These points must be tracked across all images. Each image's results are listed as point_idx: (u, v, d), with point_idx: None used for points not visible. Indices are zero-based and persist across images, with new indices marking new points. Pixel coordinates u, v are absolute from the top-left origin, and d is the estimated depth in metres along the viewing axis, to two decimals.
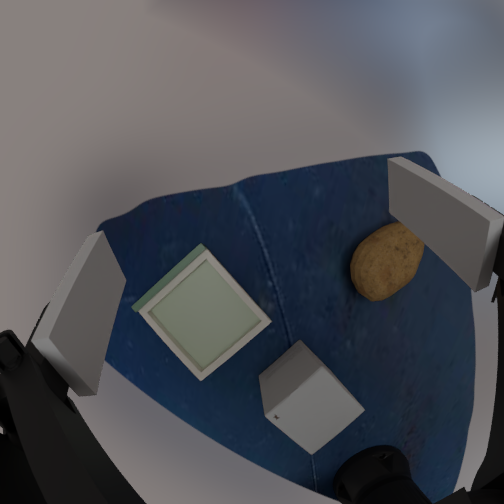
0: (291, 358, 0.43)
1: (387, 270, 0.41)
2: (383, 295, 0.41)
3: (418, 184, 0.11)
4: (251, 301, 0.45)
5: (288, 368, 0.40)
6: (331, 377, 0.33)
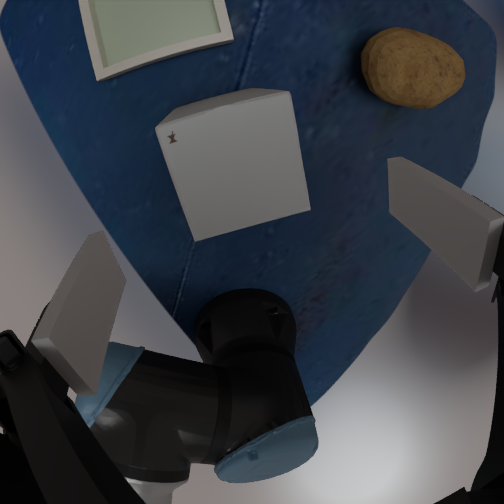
0: (233, 93, 0.26)
1: (415, 68, 0.24)
2: (394, 92, 0.26)
3: (418, 184, 0.11)
4: (222, 3, 0.23)
5: (224, 97, 0.24)
6: (293, 118, 0.19)
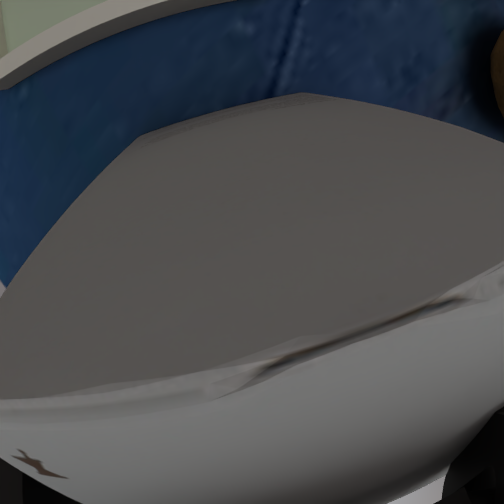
0: (276, 107, 0.10)
1: None
2: None
3: None
4: None
5: (261, 122, 0.08)
6: None
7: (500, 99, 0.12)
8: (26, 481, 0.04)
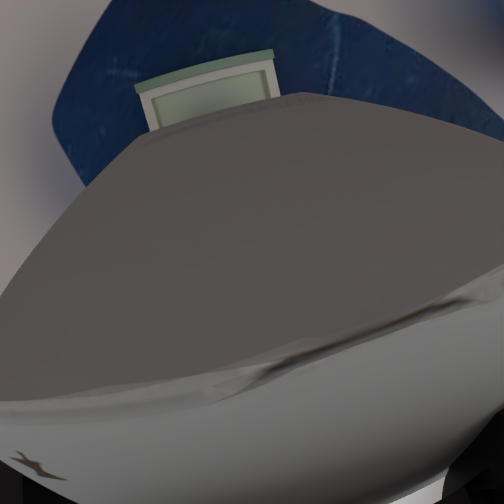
0: (276, 106, 0.10)
1: None
2: None
3: None
4: None
5: (262, 121, 0.08)
6: None
7: None
8: (26, 481, 0.04)
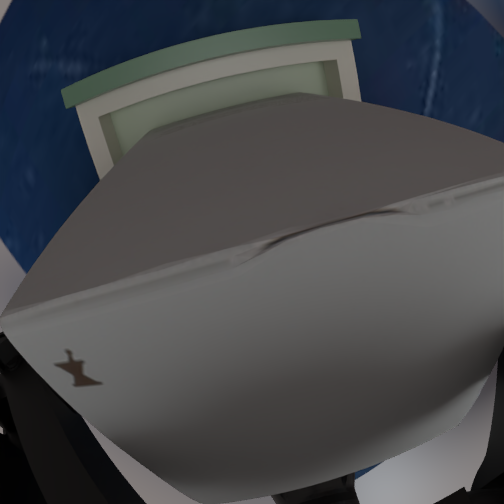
0: (276, 104, 0.11)
1: None
2: None
3: None
4: None
5: (263, 116, 0.09)
6: None
7: None
8: None
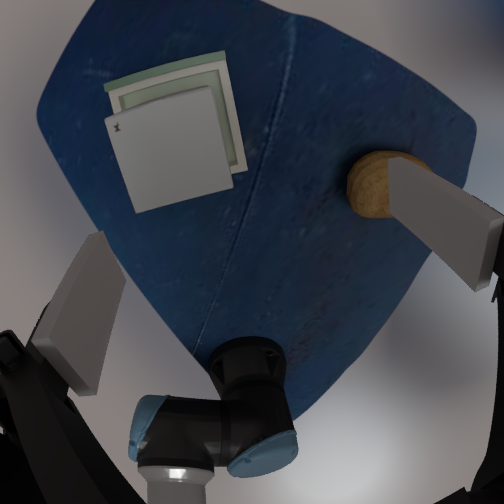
0: None
1: (387, 196, 0.37)
2: (369, 214, 0.39)
3: (418, 184, 0.11)
4: (239, 138, 0.36)
5: None
6: (214, 109, 0.22)
7: None
8: None
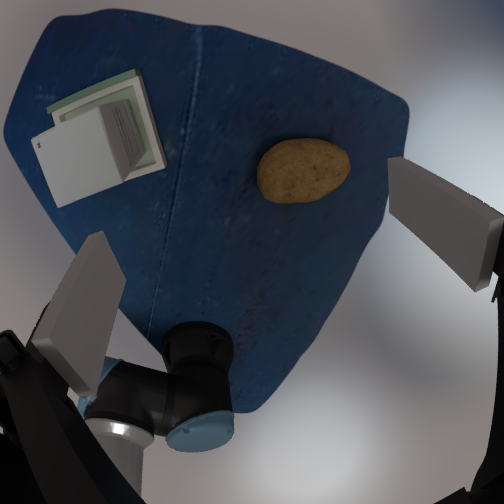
0: None
1: (292, 181, 0.41)
2: (277, 200, 0.43)
3: (418, 184, 0.11)
4: (155, 141, 0.41)
5: None
6: (101, 123, 0.27)
7: None
8: None
